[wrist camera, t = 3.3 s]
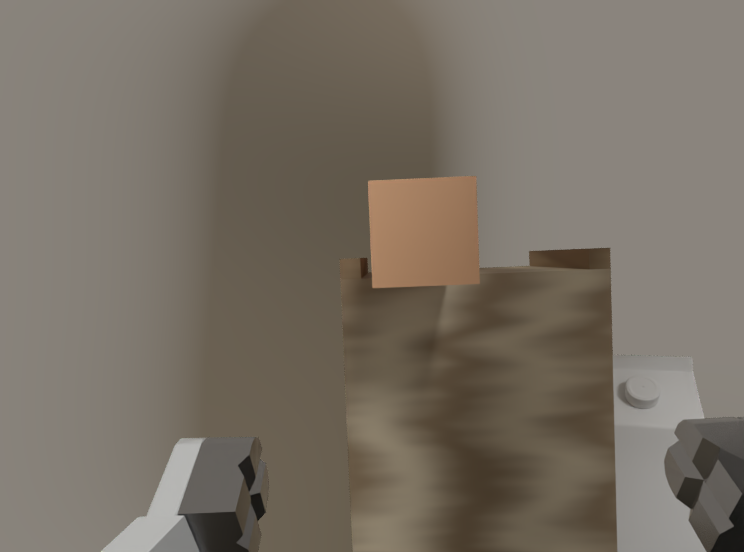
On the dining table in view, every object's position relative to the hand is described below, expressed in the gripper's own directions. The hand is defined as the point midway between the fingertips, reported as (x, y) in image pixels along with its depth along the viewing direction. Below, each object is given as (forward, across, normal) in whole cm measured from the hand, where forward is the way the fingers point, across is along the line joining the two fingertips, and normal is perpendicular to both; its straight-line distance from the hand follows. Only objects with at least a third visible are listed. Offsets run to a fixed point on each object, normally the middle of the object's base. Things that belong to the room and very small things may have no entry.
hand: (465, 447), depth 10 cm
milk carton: (+12, -17, +34) cm, 40 cm away
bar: (+17, 0, +6) cm, 18 cm away
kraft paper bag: (+5, -3, +30) cm, 30 cm away
